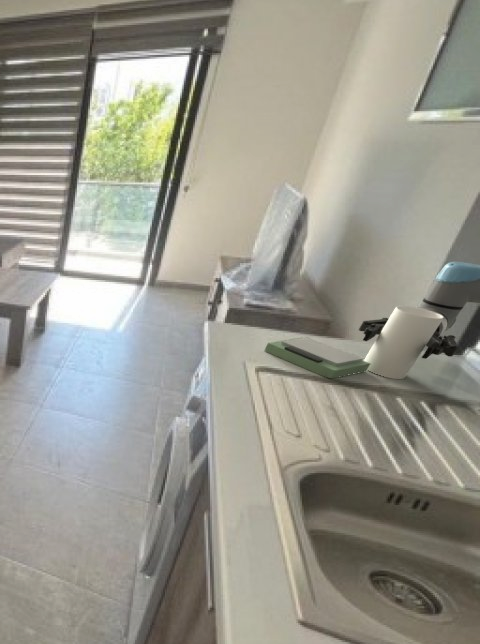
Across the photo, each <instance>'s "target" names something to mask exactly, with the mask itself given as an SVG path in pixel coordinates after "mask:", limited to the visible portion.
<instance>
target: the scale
mask: <svg viewBox="0 0 480 644" xmlns="http://www.w3.org/2000/svg"><path fill="white" fill-rule="evenodd" d="M263 351H264V352H266V353H267V354H270V355H272V356H275V357H277V358H280V359H282V360H284V361H287V362H289V363H292V364H294V365H296V366H298V367H301V368H302V369H306V370H308V371H310V372H313V373H314V372H315V373H314V374H317V375H319V374H320V375H319V376H321V375H322V376H321V377H324V376H325V377H324V378H326V377H329V378H334V377H339V376H343V377H345V376H344V375H348V374H353V373H358V372H362V373H365V372H364V371H366V372H367V369H368V367H369V365H370V364H371V363H368V362H365V361H364V358H363V357H361V356H359V355H357V354H356V355H355V354H353V353H350V352H348V351H345V350H343V349H339V348H337V347H335V346H331V345H329V344H326V343H324V342H322V341H318V340H316V339H313V338H310V337H309V336H308V337H307V336H306V337H296V338H290V339H285V340H284V339H283V340H277V341H271V342H268V343H267V344H266V346H265V348H264V350H263ZM358 374H359V373H358ZM353 375H354V374H353ZM348 376H349V375H348ZM339 378H340V377H339ZM334 379H335V378H334Z"/></svg>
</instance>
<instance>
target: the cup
mask: <svg viewBox="0 0 480 644" xmlns="http://www.w3.org/2000/svg"><path fill="white" fill-rule="evenodd" d="M443 318H444V317H443V316H442V315H440V314H438V313H435V312H432V311H429V310H425V309H421V308H418V307H415V306H409V305H396V306H395V308H394V309H393V311H392V313H391V314H390V316H389V318H388V321H387V323H386V324H385V326H384V328H383V329H382V331H381V333H380V334H379V335H378V336H377V338H376V340H375V341H374V343H373V344H372V346H371V348H370V349H369V351H368V353H367V355H366V356H365V358H363V361H365V362H368V363H371V364H370V365H369V367H368V369H367V370H369V371H371V372H373V373H372V374H374V373H375V374H374V375H376V374H378V375H377V376H379V375H381V376H380V377H383V376H384V377H383V378H388V379H394V380H404V379H405V378H406V376H407V375H408V374H409V372H410V370H411V369H412V367H413V365H414V364H415V363H416V362H417V360H418V358H419V357H420V355H421V354H422V352H423V351H424V349H425V347H427V346H426V344H427V343H428V341H429V340H430V338H431V337H432V335H433V334H434V332H435V331H436V329H437V328H438V326H439V325H440V323H441V321H442V320H443ZM367 370H366V371H367ZM369 371H368V372H369ZM371 372H370V373H371Z"/></svg>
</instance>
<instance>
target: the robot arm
mask: <svg viewBox="0 0 480 644" xmlns="http://www.w3.org/2000/svg"><path fill="white" fill-rule="evenodd" d="M467 303H473V304H474V303H475V304H480V264H475V263H470V262H464V261H451V262H448V263H446V264H445V265H444V266H443V268H441V270H440V271H439V272H438V274H437V276H435V280H434V281H433V283H432V284H431V286H430V288H429V290H428V291H427V293H426V295H425V297H424V298H423V299H422V300H421V302H420V303H419V305H418V307H417V308H421V309H425V310H429V311H432V312H435V313H438V314H440V315H442V316H443V317H444V318H443V320H442V321H441V323H440V325H439V326H438V328H437V329H436V331H435V332H434V334H433V335H432V337H431V338H430V340H429V341H428V343H427V344H426V346H425V347H427V348H426V350H425V352H423V355H422V356H421V359H425V360H426V359H428V358H429V357H430V356H431V355H436V356H440V355H441V354H444V355H445V356H447V357H453V356H454V354H455V353H456V352H457V350H458V349H459V345H458V343H457V342H456V340H455V339H456V338H457V337H456V336H455V335H451V334H449V335H442V334H443V333H444V332H445V331H448V329H451V328H452V327H453V325H454V324H455V323H456V321H457V317H458V316H459V314H460V313H461V311H462V310H463V308H464V307H465V306H466V304H467ZM388 319H389V318H388V317H382V318H379V319H370V320H363V321H362V323H361V324H360V326H359V328H358V331H360V332H363V335H364V337H363V339H362V341H364V342H368V341H370V340H372V339H373V338H375V337H376V336H377V335H378V336H379V334H380V333H381V331H382V329H383V328H384V326H385V324H386V323H387V321H388Z"/></svg>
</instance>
